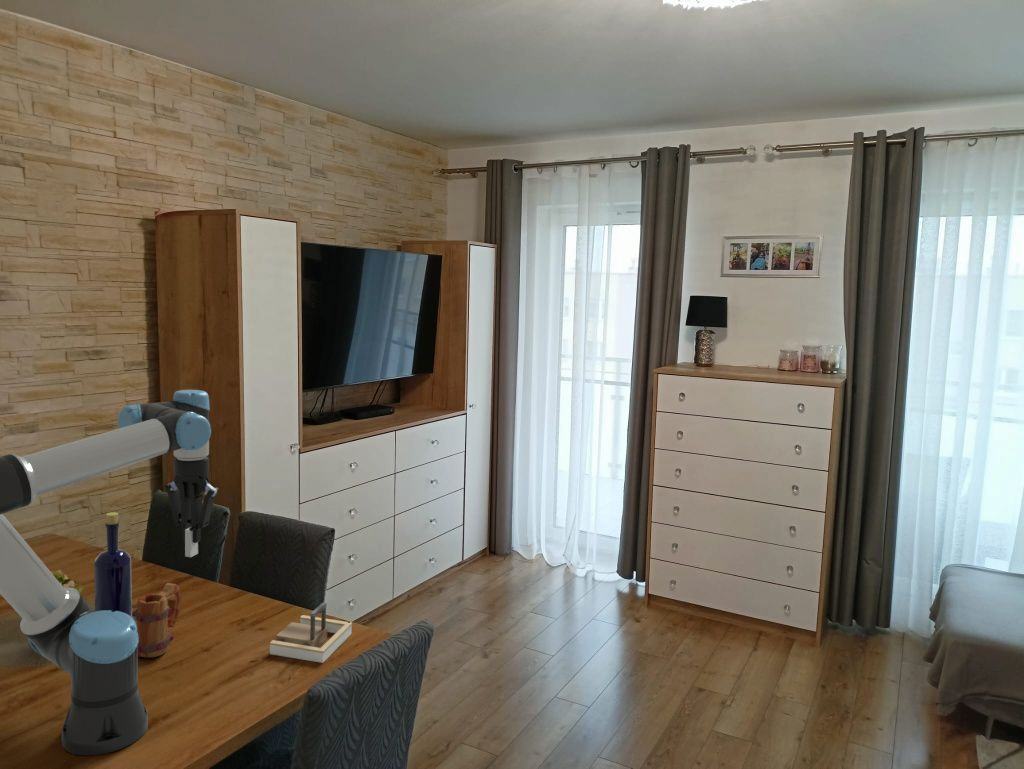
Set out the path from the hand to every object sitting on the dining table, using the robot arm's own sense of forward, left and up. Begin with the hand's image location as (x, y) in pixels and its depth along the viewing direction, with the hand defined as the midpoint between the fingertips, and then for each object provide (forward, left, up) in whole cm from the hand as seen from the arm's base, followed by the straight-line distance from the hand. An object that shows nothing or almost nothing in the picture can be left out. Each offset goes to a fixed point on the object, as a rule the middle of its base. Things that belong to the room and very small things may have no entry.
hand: (191, 554), depth 175 cm
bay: (+17, -22, -26) cm, 38 cm away
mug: (+3, +11, -27) cm, 29 cm away
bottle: (+10, +30, -27) cm, 41 cm away
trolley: (+17, -20, -27) cm, 37 cm away
